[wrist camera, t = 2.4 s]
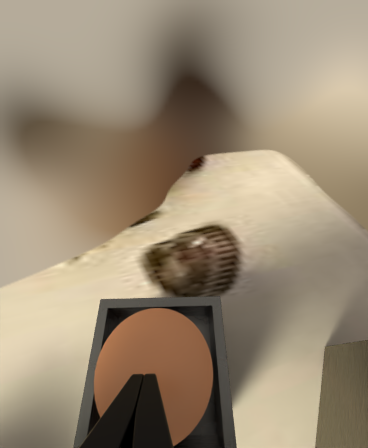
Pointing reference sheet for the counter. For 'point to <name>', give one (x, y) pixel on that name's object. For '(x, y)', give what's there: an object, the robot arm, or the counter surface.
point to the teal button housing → (344, 397)
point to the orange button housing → (214, 335)
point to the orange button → (159, 365)
